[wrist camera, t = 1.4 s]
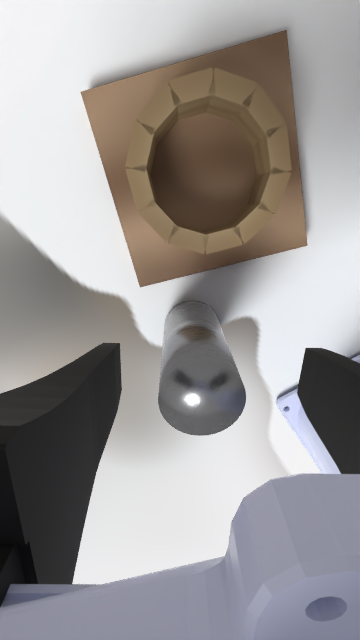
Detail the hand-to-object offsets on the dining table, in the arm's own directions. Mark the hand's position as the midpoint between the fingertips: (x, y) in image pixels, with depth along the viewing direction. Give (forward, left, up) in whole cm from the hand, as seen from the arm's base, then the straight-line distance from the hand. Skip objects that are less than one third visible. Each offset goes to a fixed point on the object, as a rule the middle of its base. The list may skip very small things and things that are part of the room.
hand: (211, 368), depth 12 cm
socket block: (+6, -4, -10) cm, 13 cm away
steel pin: (-2, +2, -10) cm, 11 cm away
